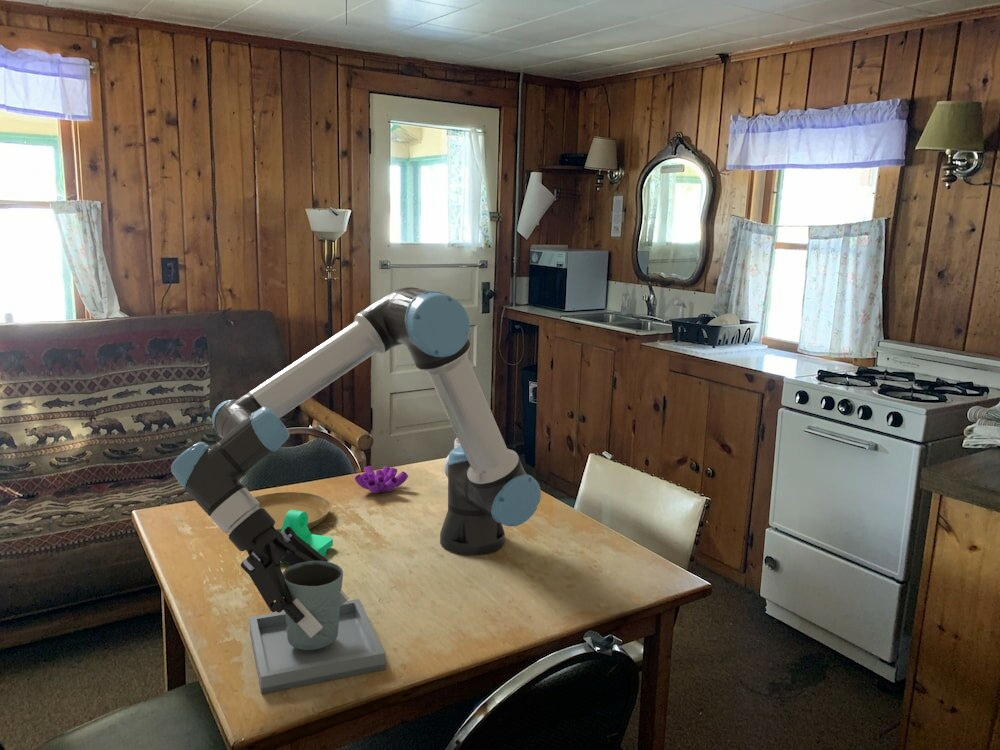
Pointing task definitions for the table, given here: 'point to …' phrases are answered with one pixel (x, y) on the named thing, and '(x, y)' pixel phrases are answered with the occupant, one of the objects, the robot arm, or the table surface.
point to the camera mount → (306, 531)
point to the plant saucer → (294, 506)
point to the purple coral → (380, 479)
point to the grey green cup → (315, 601)
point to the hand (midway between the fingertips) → (330, 617)
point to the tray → (314, 651)
